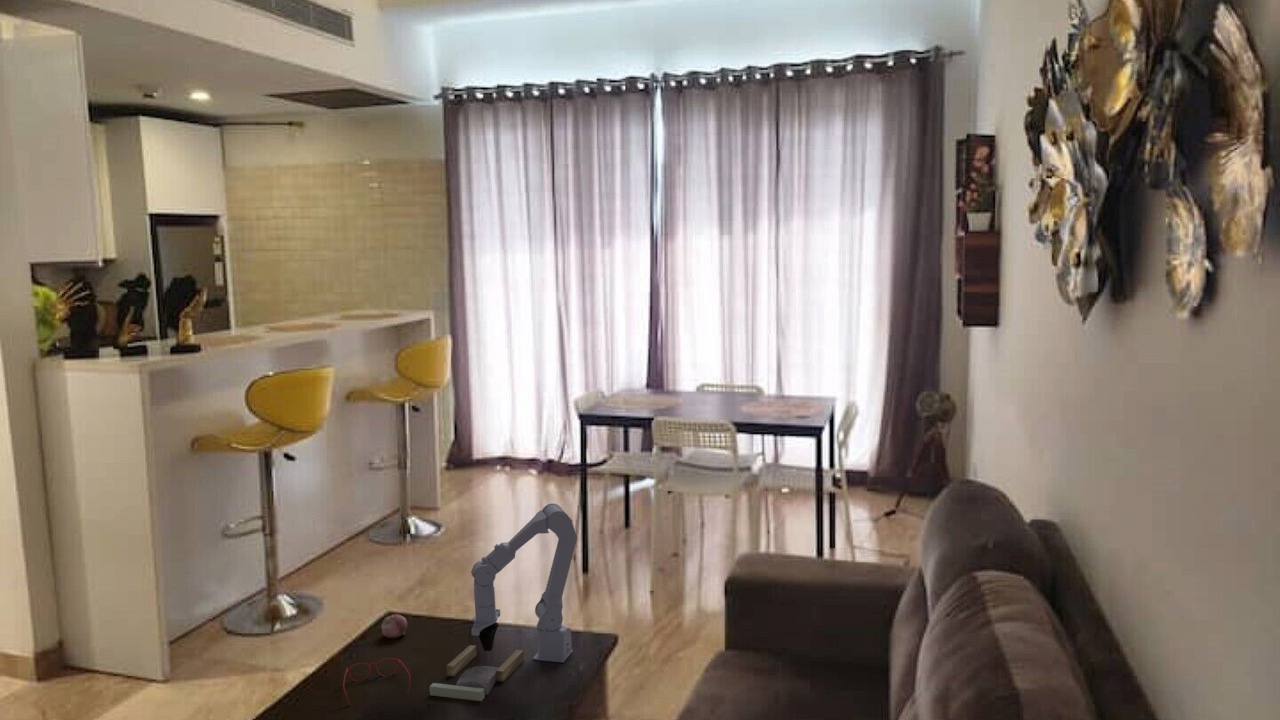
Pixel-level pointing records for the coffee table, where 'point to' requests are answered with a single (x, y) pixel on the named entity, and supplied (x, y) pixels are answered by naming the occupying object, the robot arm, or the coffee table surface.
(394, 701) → the coffee table surface
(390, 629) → the onion
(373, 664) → the red eyeglasses
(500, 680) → the chute rail right
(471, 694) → the end bar
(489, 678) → the stone block
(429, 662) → the coffee table surface
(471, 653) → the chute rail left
